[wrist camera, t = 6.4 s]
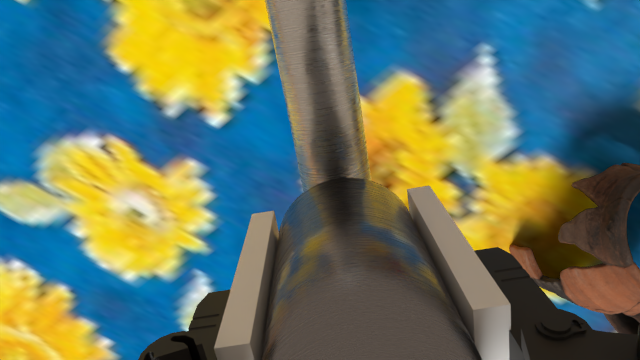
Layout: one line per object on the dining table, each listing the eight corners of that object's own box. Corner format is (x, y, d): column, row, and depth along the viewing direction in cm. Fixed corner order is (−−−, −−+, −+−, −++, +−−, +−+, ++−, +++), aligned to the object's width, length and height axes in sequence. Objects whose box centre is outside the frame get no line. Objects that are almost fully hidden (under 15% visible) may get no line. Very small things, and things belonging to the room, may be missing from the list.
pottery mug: (474, 218, 30) (573, 213, 22) (563, 148, 33) (680, 121, 25) (563, 364, 31) (691, 410, 23) (644, 283, 34) (782, 299, 26)
